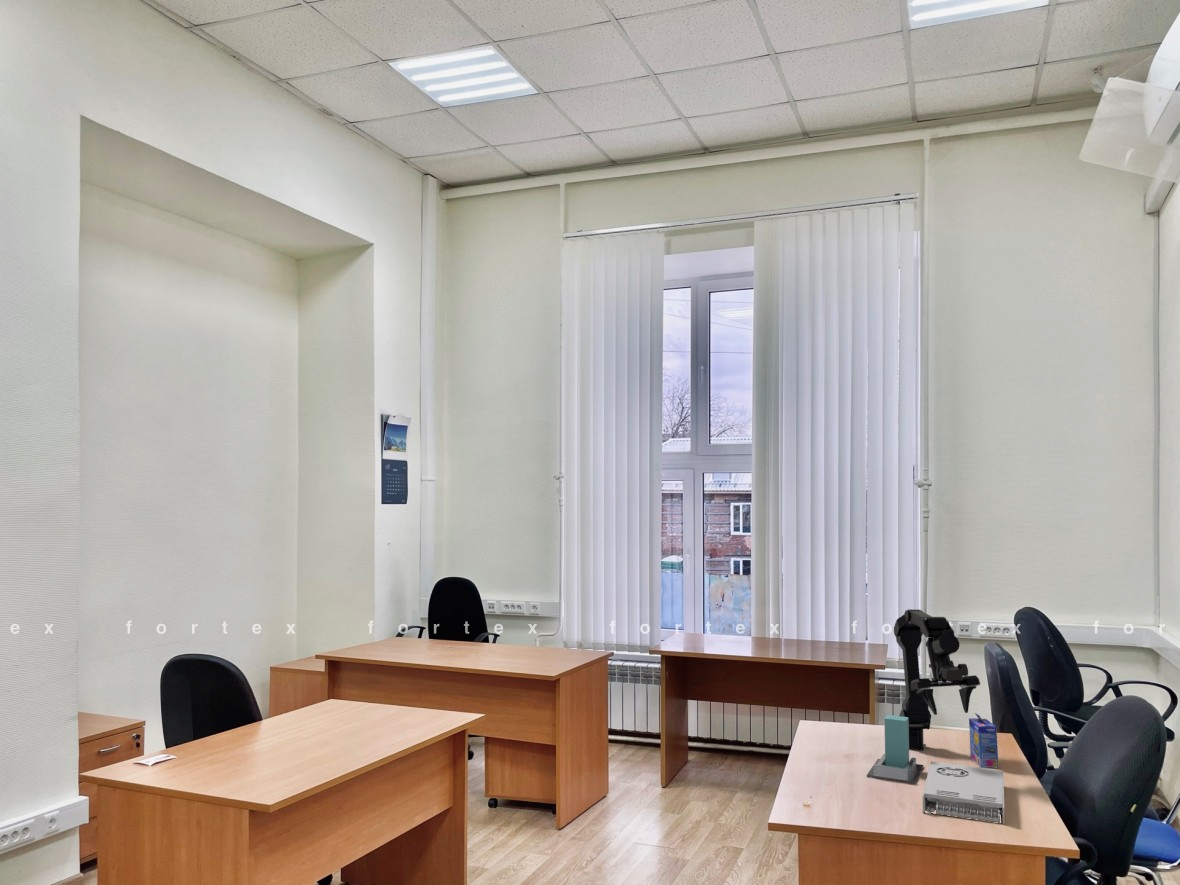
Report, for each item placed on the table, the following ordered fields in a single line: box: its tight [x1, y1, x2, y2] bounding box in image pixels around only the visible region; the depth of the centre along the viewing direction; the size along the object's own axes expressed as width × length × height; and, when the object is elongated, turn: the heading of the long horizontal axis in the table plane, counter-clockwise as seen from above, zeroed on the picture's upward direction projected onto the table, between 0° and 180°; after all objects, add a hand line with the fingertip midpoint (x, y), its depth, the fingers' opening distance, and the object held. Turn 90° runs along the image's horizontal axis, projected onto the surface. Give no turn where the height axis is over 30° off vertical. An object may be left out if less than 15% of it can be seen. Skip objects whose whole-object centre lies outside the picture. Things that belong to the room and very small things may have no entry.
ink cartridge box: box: [968, 712, 999, 769], centre depth 270 cm, size 10×6×14 cm, turn 174°
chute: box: [866, 753, 924, 785], centre depth 260 cm, size 18×13×4 cm
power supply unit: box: [921, 761, 1006, 825], centre depth 237 cm, size 19×33×5 cm, turn 156°
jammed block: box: [884, 714, 910, 768], centre depth 263 cm, size 5×6×14 cm
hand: (951, 713), depth 259 cm, fingers open, 9 cm apart
